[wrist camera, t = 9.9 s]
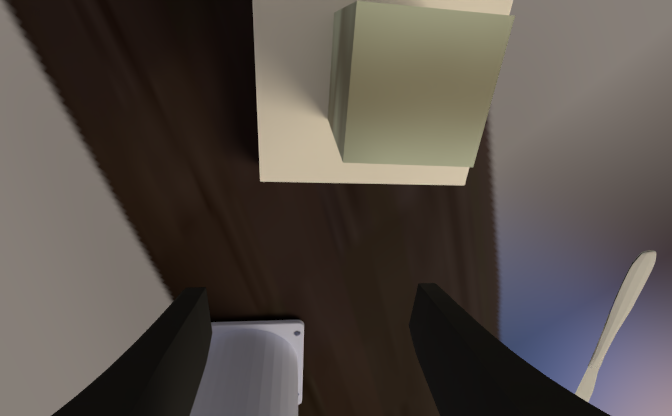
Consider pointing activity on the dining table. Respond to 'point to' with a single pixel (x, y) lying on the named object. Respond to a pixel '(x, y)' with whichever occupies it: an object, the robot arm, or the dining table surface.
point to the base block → (321, 95)
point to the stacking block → (413, 82)
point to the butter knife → (617, 317)
